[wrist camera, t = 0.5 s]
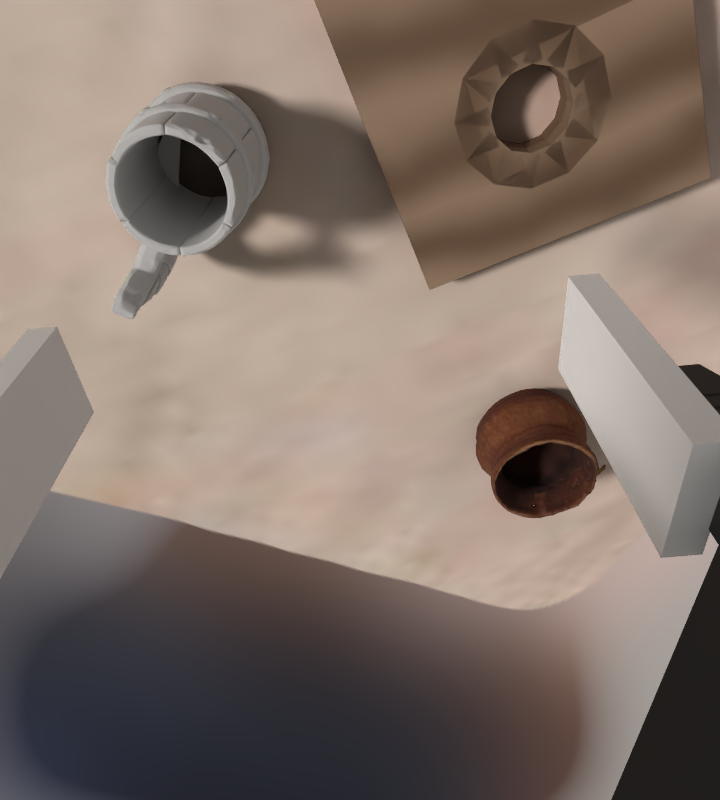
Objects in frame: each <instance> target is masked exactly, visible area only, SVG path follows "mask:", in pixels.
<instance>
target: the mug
mask: <svg viewBox="0 0 720 800" xmlns="http://www.w3.org/2000/svg"><path fill="white" fill-rule="evenodd" d="M161 135H163V137H162V139H161V141H160V136H161ZM181 139H183V140H186V141H188V142H190V143H192V144H194V145H195V146H197V147H198V148H200V149H201V150H202V151H204V152H205V153H206V154H207V155H208V156H209V157H210V158H211V159H212V160H213V161H214V162H215V164H216V165H217V166H219V170H220V172H221V174H222V177H223V179H224V182H225V185H226V189H227V196H223V197H214V198H213V197H208V196H202V195H199V194H196V193H194V192H192V191H190V190H188V189H187V188H185V187H184V186H182V185H181V184H180V183H179V165H180V142H181ZM269 163H270V155H269V149H268V143H267V139H266V136H265V133H264V131H263V128H262V126H261V124H260V122H259V120H258V119H257V117H256V116H255V114H254V113H253V111H252V110H251V109H250V108H249V107H248V106H247V105H246V104H245V103H244V102H243V101H242V100H241V99H240V98H239V97H238V96H237V95H235V94H233V93H232V92H230V91H228V90H226V89H224V88H222V87H219V86H216V85H212V84H208V83H201V82H189V83H183V84H179V85H176V86H173V87H171V88H170V87H169V88H166V89H164V90H163V91H162V92H160V95H159V96H157V97H156V98H155V99H154V100H153V101H152V102H151V103H150V105H149V106H148V107H146V108H144V109H143V110H141V111H140V112H139V113H138V114H137V115H136V117H135V118H134V119H133V120H132V122H131V123H130V124H129V125H128V126H127V128H126V129H125V131H124V133H123V134H122V136H121V139H120V141H119V142H118V143H117V145H116V146H115V148H114V152H113V155H112V157H111V158H110V159H109V160H108V163H107V168H106V189H107V194H108V198H109V201H110V204H111V207H112V209H113V211H114V213H115V215H116V216H117V218H118V219H119V221H120V222H121V221H125V222H124V223H123V226H124V227H125V228H126V229H127V230H128V232H129V233H130V234H131V235H132V236H133V237H135V238H136V239H137V240H138V241H140V242H141V243H142V244H141V246H140V249H139V252H138V254H137V257H136V260H135V263H134V265H133V268H132V269H131V271H130V273H129V275H128V276H127V278H126V280H125V281H124V283H123V285H122V286H121V288H120V290H119V292H118V293H117V295H116V297H115V299H114V302H113V305H112V308H111V310H112V312H114V313H116V314H118V315H120V316H123V317H125V318H128V319H133V318H134V317H135V316H136V314H137V311H138V310H139V309H140V307H141V306H142V305H144V304H145V303H146V302H148V301H149V300H150V299H151V298H152V297H153V296H154V295H156V294H157V293H158V292H159V290H160V289H161V287H162V286H163V284H164V282H165V281H166V279H167V276H168V275H169V274H170V272H171V270H172V268H173V266H174V264H175V262H176V259H177V255H180V254H181V255H182V256H186V255H188V254H189V255H194V254H199V253H202V252H205V251H207V250H210V249H212V248H213V247H215V246H216V245H218V244H219V243H220V242H221V241H222V240H223V239H224V238H225V237H226V236H227V235H229V234H230V233H231V232H232V231H233V230H234V229H235V228H236V227H237V226H238V225H239V224H240V222H241V221H242V220H243V218H244V217H245V215H246V213H247V211H248V209H249V207H250V204H251V203H252V202H253V201H254V200H255V199H256V198H257V196H258V195H259V193H260V192H261V190H262V188H263V186H264V184H265V181H266V178H267V174H268V169H269Z"/></svg>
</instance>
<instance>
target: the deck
mask: <svg viewBox="0 0 720 800" xmlns="http://www.w3.org/2000/svg"><path fill="white" fill-rule="evenodd" d="M314 1H315V3H316V6H317V8H318V11H319V13H320V16H321V18H322V21H323V23H324V26H325V28H326V31H327V33H328V36H329V38H330V41H331V43H332V46H333V48H334V51H335V53H336V56H337V58H338V61H339V63H340V66H341V68H342V71H343V73H344V76H345V78H346V81H347V83H348V86H349V89H350V91H351V94H352V96H353V99H354V101H355V104H356V106H357V109H358V111H359V114H360V116H361V119H362V121H363V124H364V126H365V129H366V131H367V134H368V136H369V139H370V141H371V144H372V146H373V149H374V151H375V154H376V156H377V159H378V161H379V164H380V166H381V169H382V171H383V174H384V176H385V179H386V181H387V184H388V186H389V189H390V191H391V194H392V197H393V199H394V202H395V204H396V207H397V209H398V212H399V214H400V217H401V219H402V222H403V224H404V227H405V229H406V232H407V234H408V237H409V239H410V242H411V244H412V247H413V249H414V252H415V254H416V257H417V259H418V262H419V264H420V267H421V269H422V272H423V274H424V277H425V279H426V282H427V284H428V287H429V289H430V290H431V289H433V288H436V287H438V286H441V285H443V284H446V283H448V282H451V281H453V280H456V279H458V278H461V277H463V276H466V275H468V274H471V273H473V272H476V271H478V270H481V269H483V268H486V267H488V266H491V265H493V264H496V263H498V262H501V261H503V260H506V259H508V258H511V257H513V256H516V255H518V254H521V253H523V252H526V251H528V250H531V249H534V248H536V247H539V246H541V245H544V244H546V243H549V242H551V241H554V240H556V239H559V238H561V237H564V236H566V235H569V234H571V233H574V232H576V231H579V230H581V229H584V228H586V227H589V226H591V225H594V224H596V223H599V222H601V221H604V220H606V219H609V218H611V217H614V216H616V215H619V214H621V213H624V212H626V211H629V210H631V209H634V208H636V207H639V206H641V205H644V204H646V203H649V202H651V201H654V200H656V199H659V198H661V197H664V196H666V195H669V194H671V193H674V192H676V191H679V190H681V189H684V188H686V187H689V186H691V185H694V184H696V183H699V182H702V181H704V180H707V179H709V178H711V175H710V164H709V154H708V144H707V134H706V124H705V114H704V104H703V94H702V83H701V73H700V63H699V53H698V43H697V33H696V23H695V13H694V3H693V0H314ZM531 64H538V65H545V66H547V67H548V68H549V69H550V70H551V71H552V72H553V73H554V74H555V75H556V77H557V81H558V86H559V90H560V95H561V98H560V101H559V105H558V109H557V112H556V116H555V119H554V120H553V121H552V122H551V123H550V125H549V126H548V127H547V128H546V129H545V131H544V132H543V133H542V134H541V135H540V136H538V137H535V138H533V139H531V140H529V141H526V142H524V143H522V144H520V143H512V142H503V141H501V140H500V139H499V138H498V137H497V136H496V134H495V130H494V127H493V123H492V120H491V113H492V108H493V104H494V99H495V95H496V92H497V91H498V90H499V89H500V87H501V86H502V85H503V84H504V82H505V81H506V80H507V78H508V77H509V76H510V75H511V74H512V73H514V72H516V71H518V70H520V69H522V68H525V67H527V66H529V65H531Z"/></svg>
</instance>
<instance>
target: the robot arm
mask: <svg viewBox="0 0 720 800" xmlns="http://www.w3.org/2000/svg"><path fill="white" fill-rule="evenodd" d="M558 370H559V371H560V373H561V375H562V377H563V379H564V381H565V382H566V384H567V386H568V388H569V390H570V392H571V393H572V395H573V397H574V399H575V401H576V403H577V404H578V406H579V408H580V410H581V412H582V414H583V415H584V417H585V419H586V421H587V423H588V425H589V426H590V428H591V430H592V432H593V434H594V436H595V437H596V439H597V441H598V443H599V445H600V447H601V448H602V450H603V452H604V454H605V456H606V458H607V459H608V461H609V463H610V465H611V467H612V469H613V471H614V472H615V474H616V476H617V478H618V480H619V482H620V483H621V485H622V487H623V489H624V491H625V493H626V494H627V496H628V498H629V500H630V502H631V504H632V505H633V507H634V509H635V511H636V513H637V515H638V516H639V518H640V520H641V522H642V524H643V526H644V527H645V529H646V531H647V533H648V535H649V537H650V538H651V540H652V542H653V544H654V546H655V547H656V549H657V551H658V553H659V555H660V557H674V556H687V555H699V554H703V551H704V548H705V545H706V542H707V539H708V536H709V533H710V532H711V534H712V535H713V537H714V538H715V540H716V541H717V543H718V544H719V546H718V548H717V551H716V553H715V555H714V558H713V560H712V562H711V565H710V567H709V569H708V572H707V574H706V576H705V579H704V581H703V584H702V586H701V588H700V591H699V593H698V596H697V598H696V600H695V603H694V605H693V607H692V610H691V612H690V614H689V617H688V620H687V622H686V624H685V626H684V629H683V631H682V633H681V636H680V638H679V641H678V643H677V646H676V648H675V650H674V652H673V655H672V657H671V660H670V662H669V664H668V667H667V669H666V672H665V674H664V676H663V679H662V681H661V683H660V686H659V688H658V691H657V693H656V695H655V698H654V700H653V702H652V705H651V707H650V710H649V712H648V714H647V717H646V719H645V721H644V724H643V726H642V729H641V731H640V733H639V736H638V738H637V741H636V743H635V745H634V747H633V750H632V752H631V755H630V757H629V759H628V762H627V764H626V766H625V769H624V771H623V773H622V776H621V778H620V781H619V783H618V786H617V788H616V790H615V793H614V795H613V797H612V800H720V376H719V375H718V374H716V373H714V372H712V371H710V370H709V369H707V368H705V367H703V366H701V365H700V364H695V365H684V366H678V365H677V364H676V363H675V362H674V361H673V360H672V358H671V357H670V356H669V355H668V354H667V353H666V351H665V350H664V349H663V348H662V347H661V345H660V344H659V343H658V342H657V341H656V340H655V338H654V337H653V336H652V335H651V334H650V333H649V331H648V330H647V329H646V328H645V327H644V326H643V324H642V323H641V322H640V321H639V320H638V318H637V317H636V316H635V315H634V314H633V313H632V311H631V310H630V309H629V308H628V307H627V306H626V304H625V303H624V302H623V301H622V300H621V299H620V297H619V296H618V295H617V294H616V293H615V292H614V290H613V289H612V288H611V287H610V286H609V284H608V283H607V282H606V281H605V280H604V279H603V277H602V276H601V275H600V274H590V275H579V276H569V277H568V285H567V294H566V303H565V312H564V321H563V330H562V339H561V349H560V358H559V367H558ZM93 413H94V411H93V409H92V407H91V404H90V402H89V400H88V398H87V395H86V393H85V391H84V388H83V386H82V384H81V381H80V379H79V377H78V374H77V372H76V370H75V367H74V365H73V363H72V360H71V358H70V356H69V353H68V351H67V349H66V347H65V344H64V342H63V340H62V337H61V335H60V333H59V330H58V328H57V327H48V328H38V329H28V330H27V331H26V332H25V333H24V335H23V336H22V337H21V338H20V339H19V340H18V341H17V343H16V344H15V345H14V346H13V347H12V348H11V349H10V351H9V352H8V353H7V354H6V355H5V356H4V357H3V359H2V360H1V361H0V578H1V576H2V574H3V573H4V571H5V569H6V567H7V566H8V564H9V562H10V560H11V558H12V557H13V555H14V553H15V551H16V550H17V548H18V546H19V544H20V542H21V541H22V539H23V537H24V535H25V534H26V531H27V530H28V528H29V526H30V525H31V523H32V521H33V519H34V518H35V516H36V514H37V512H38V510H39V509H40V507H41V505H42V503H43V501H44V500H45V498H46V496H47V494H48V493H49V491H50V489H51V487H52V486H53V484H54V482H55V480H56V478H57V477H58V475H59V473H60V471H61V470H62V468H63V466H64V464H65V462H66V461H67V459H68V457H69V455H70V454H71V452H72V450H73V448H74V446H75V445H76V443H77V441H78V439H79V438H80V436H81V434H82V432H83V430H84V429H85V427H86V425H87V423H88V422H89V420H90V418H91V416H92V414H93Z"/></svg>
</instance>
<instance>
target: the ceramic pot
mask: <svg viewBox="0 0 720 800" xmlns="http://www.w3.org/2000/svg"><path fill="white" fill-rule="evenodd" d="M586 439H587V437H586V427H585V424H584V421H583V418H582V417H581V415H580V413H579V412H578V411H577V410H576V409H575V408H574V407H573V406H572V405H571V404H570V403H569V402H567V401H566V400H565V399H563V398H562V397H560V396H558V395H556V394H554V393H552V392H549V391H546V390H541V389H525V390H521V391H518V392H515V393H512V394H510V395H508V396H506V397H504V398H502V399H501V400H499V401H498V402H496V403H495V404H494V405H493V406H492V407H491V408H490V409H489V410H488V411H487V412H486V414H485V415H484V416H483V418H482V419H481V421H480V423H479V425H478V427H477V434H476V440H477V443H476V456H477V459H478V461H479V463H480V465H481V467H482V469H483V470H484V471H485V472H486V473H488V474H489V475H490V476H491V485H492V489H493V493H494V495H495V498H496V499H497V501H498V502H499V503H500V504H501V505H502V506H503V507H504V508H505V509H506V510H507V511H509V512H511V513H514V514H516V515H519V516H523V517H527V518H542V517H545V516H549V515H555V514H557V513H559V512H563V511H565V510H568V509H571V508H574V507H576V506H578V505H579V504H580V503H581V502H582V501H583V500H584V499H585V497H586V496H587V495H588V494H590V493H591V492H592V490H593V489H594V486H595V482H596V476H597V475H598V474H599V473H601V472H602V470H604V469H605V466H606V465H603V466H602V467H601V468H600V469H599V466H598V462H597V459H596V456H595V455H594V453H593V452H592V451H591V449H590V448H589V446H588V445H587V444H586ZM533 505H535V506H533Z"/></svg>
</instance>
